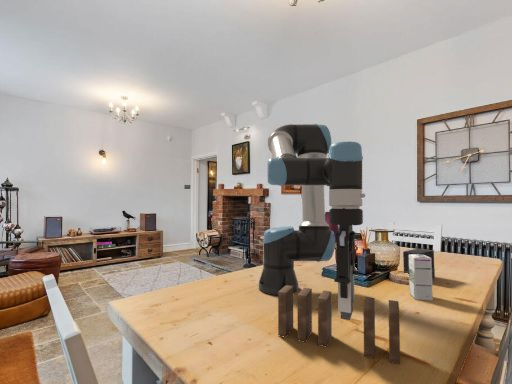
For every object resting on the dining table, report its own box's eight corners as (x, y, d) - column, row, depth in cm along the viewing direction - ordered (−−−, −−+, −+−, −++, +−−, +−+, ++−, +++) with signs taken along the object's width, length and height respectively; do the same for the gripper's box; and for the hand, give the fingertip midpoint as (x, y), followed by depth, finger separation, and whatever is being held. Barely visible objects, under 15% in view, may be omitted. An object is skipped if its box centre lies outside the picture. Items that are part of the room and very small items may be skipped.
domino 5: (363, 356, 60) (363, 305, 60) (365, 343, 65) (365, 296, 66) (373, 358, 59) (373, 306, 59) (375, 345, 64) (374, 297, 65)
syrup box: (433, 301, 92) (432, 257, 93) (414, 299, 94) (413, 257, 94) (426, 295, 98) (426, 254, 98) (408, 294, 99) (408, 253, 100)
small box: (418, 274, 126) (418, 248, 126) (435, 277, 120) (434, 250, 120) (403, 278, 119) (402, 250, 119) (419, 282, 113) (419, 253, 113)
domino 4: (340, 318, 62) (340, 269, 62) (344, 309, 67) (344, 264, 68) (349, 320, 61) (349, 270, 62) (353, 310, 67) (352, 264, 67)
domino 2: (297, 340, 66) (297, 294, 67) (304, 330, 72) (304, 287, 72) (305, 342, 66) (305, 296, 66) (311, 331, 71) (311, 288, 71)
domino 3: (318, 345, 64) (318, 298, 65) (323, 334, 70) (323, 290, 70) (326, 347, 63) (326, 299, 64) (331, 335, 69) (331, 291, 69)
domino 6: (389, 362, 58) (388, 309, 58) (389, 348, 63) (388, 299, 63) (400, 364, 57) (399, 310, 57) (399, 350, 62) (398, 301, 63)
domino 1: (278, 336, 69) (278, 291, 69) (286, 326, 74) (286, 285, 74) (285, 337, 68) (285, 292, 68) (293, 327, 73) (293, 286, 73)
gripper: (358, 208, 55) (360, 326, 54) (365, 207, 72) (366, 296, 71) (321, 208, 58) (321, 318, 57) (336, 206, 75) (337, 292, 75)
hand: (346, 306), depth 64 cm, fingers closed on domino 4, 6 cm apart
